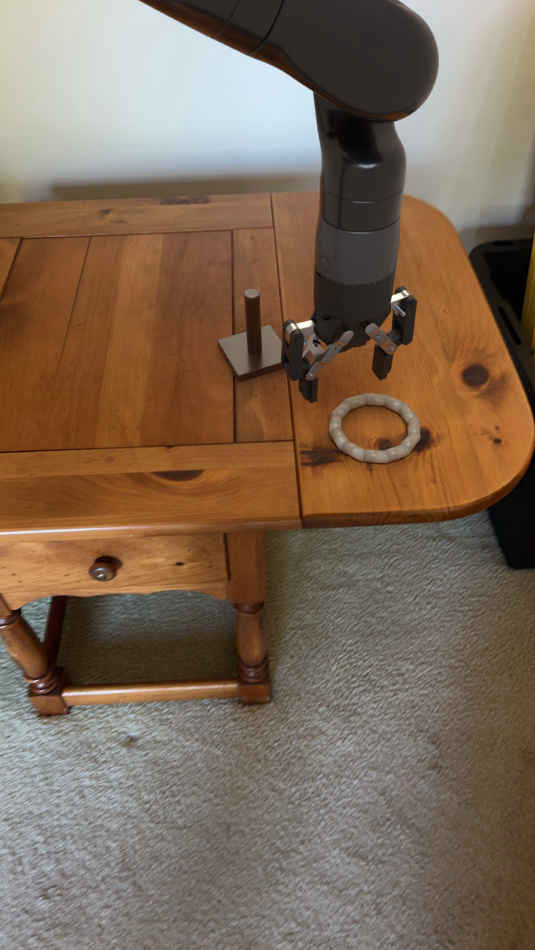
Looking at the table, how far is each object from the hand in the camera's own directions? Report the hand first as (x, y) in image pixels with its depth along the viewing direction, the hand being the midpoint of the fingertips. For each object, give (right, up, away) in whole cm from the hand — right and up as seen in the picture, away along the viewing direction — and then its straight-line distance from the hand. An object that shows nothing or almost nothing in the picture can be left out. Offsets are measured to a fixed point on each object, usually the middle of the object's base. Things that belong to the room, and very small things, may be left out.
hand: (344, 386), depth 73 cm
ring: (+5, -4, +8) cm, 10 cm away
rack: (-10, +7, +18) cm, 21 cm away
